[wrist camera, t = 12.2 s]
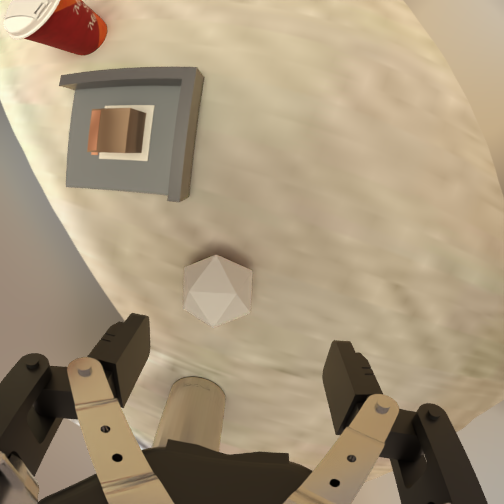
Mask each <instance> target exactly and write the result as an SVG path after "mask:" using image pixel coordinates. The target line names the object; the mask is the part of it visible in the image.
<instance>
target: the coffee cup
mask: <svg viewBox="0 0 504 504" xmlns="http://www.w3.org/2000/svg"><path fill="white" fill-rule="evenodd" d="M4 28H5V30H6V31H7V32H8V34H9V35H10V37H11V38H13V39H23V38H24V39H28V40H31V41H35V42H38V43H42V44H45V45H48V46H52V47H55V48H58V49H61V50H65V51H68V52H71V53H74V54H78V55H87V54H90V53H92V52H94V51H95V50H96V49H98V48H99V47H100V45H101V44H102V43H103V41H104V40H105V37H106V34H107V26H106V24H105V22H104V21H103V20H102V19H101V18H100V17H99V16H98V15H97V14H96V13H95V12H94V11H93V10H91V9H90V8H89V7H88V6H87V5H86V4H85V3H84V2H83V1H82V0H12V1H11V3H10V4H9V6H8V8H7V11H6V14H5V17H4Z"/></svg>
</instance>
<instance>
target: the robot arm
mask: <svg viewBox="0 0 504 504" xmlns="http://www.w3.org/2000/svg"><path fill="white" fill-rule="evenodd" d="M149 353H150V325H149V317H148V316H145V315H140V314H135V313H131V314H130V316H129V317H128V318H127V320H126V321H125V322H124V323H123V322H118V323H116V324H114V325H112V326H111V327H110V328H109V329H108V330H107V332H106V333H105V334H104V336H103V337H102V338H101V340H100V341H99V342H98V343H97V345H96V346H95V347H94V349H93V350H92V352H91V353H90V354H89V355H88V356H87V357H82V358H77V359H75V360H73V361H72V362H71V363H70V364H69V365H68V367H58V366H50V365H49V361H48V359H47V358H46V357H45V356H44V355H41V354H37V353H32V354H28V355H25V356H23V357H22V358H21V359H20V360H19V361H18V362H17V363H16V364H15V366H14V367H13V368H12V369H11V371H10V372H9V373H8V374H7V375H6V377H5V378H4V379H3V380H2V381H1V383H0V504H351V503H352V501H353V500H354V498H355V497H356V495H357V493H358V492H359V490H360V489H361V487H362V485H363V484H364V482H365V480H366V479H367V477H368V475H369V473H370V472H371V470H372V468H373V466H374V464H375V463H376V461H377V459H378V457H384V458H390V461H391V465H392V468H393V472H394V476H395V479H396V484H397V488H398V492H399V496H400V500H401V504H487V501H486V498H485V496H484V493H483V491H482V488H481V486H480V484H479V481H478V479H477V477H476V474H475V472H474V470H473V468H472V466H471V463H470V461H469V459H468V457H467V455H466V452H465V450H464V448H463V446H462V444H461V442H460V440H459V438H458V436H457V434H456V432H455V430H454V428H453V426H452V424H451V422H450V420H449V418H448V416H447V414H446V412H445V411H444V410H443V409H442V408H441V407H439V406H437V405H435V404H430V403H427V404H423V405H421V406H420V407H419V409H418V410H417V412H413V411H407V410H402V409H399V406H398V404H397V402H396V401H395V400H394V399H392V398H391V397H389V396H387V395H383V393H382V390H381V388H380V386H379V384H378V382H377V380H376V377H375V375H374V373H373V371H372V369H371V367H370V364H369V362H368V360H367V359H366V358H365V357H364V356H363V355H362V354H361V353H355V351H354V348H353V346H352V344H351V342H350V341H335V340H334V341H333V342H332V344H331V347H330V350H329V353H328V356H327V359H326V362H325V365H324V369H323V384H324V388H325V392H326V396H327V400H328V404H329V408H330V412H331V417H332V421H333V425H334V429H335V434H336V435H340V437H339V438H338V440H337V441H336V442H335V444H334V445H333V446H332V448H331V449H330V450H329V452H328V453H327V454H326V455H325V457H324V458H323V459H322V461H321V462H320V463H319V464H318V466H317V467H316V468H315V469H314V470H313V471H312V470H310V469H308V468H306V467H304V466H302V465H300V464H297V463H294V462H290V461H289V454H288V453H271V452H253V453H243V454H233V455H227V454H223V453H220V452H219V447H220V439H221V432H222V424H223V417H224V409H225V400H226V399H225V395H224V393H223V391H222V390H221V389H220V387H218V386H217V385H216V384H214V383H213V382H211V381H209V380H206V379H203V378H198V377H187V378H183V379H180V380H178V381H177V382H175V383H174V385H173V386H172V388H171V391H170V394H169V397H168V400H167V403H166V405H165V408H164V411H163V414H162V417H161V420H160V423H159V426H158V429H157V432H156V435H155V438H154V441H153V444H152V447H151V448H148V449H144V450H141V449H140V447H139V445H138V443H137V441H136V439H135V437H134V435H133V433H132V431H131V429H130V427H129V424H128V422H127V420H126V418H125V416H124V414H123V411H122V409H121V408H124V406H125V404H126V402H127V400H128V398H129V396H130V394H131V392H132V390H133V387H134V385H135V383H136V381H137V379H138V377H139V375H140V373H141V371H142V369H143V367H144V365H145V363H146V361H147V359H148V357H149ZM63 418H67V419H78V420H79V424H80V427H81V430H82V433H83V436H84V440H85V443H86V446H87V449H88V451H89V455H90V457H91V460H92V463H93V465H94V468H95V471H96V474H94V475H92V476H90V477H88V478H86V479H84V480H82V481H80V482H78V483H76V484H74V485H72V486H69V487H67V488H65V489H63V490H61V491H58V492H56V493H54V494H51V495H49V496H47V497H45V498H43V499H42V500H40V501H39V502H38V494H39V485H38V482H37V481H36V479H35V478H34V476H35V474H36V472H37V470H38V468H39V466H40V463H41V461H42V459H43V457H44V455H45V453H46V451H47V449H48V447H49V445H50V443H51V441H52V439H53V437H54V435H55V433H56V431H57V429H58V428H59V425H60V424H61V422H62V420H63ZM424 455H425V457H424ZM425 458H426V459H425ZM426 461H427V462H426Z"/></svg>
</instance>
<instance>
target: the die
mask: <svg viewBox="0 0 504 504" xmlns="http://www.w3.org/2000/svg"><path fill="white" fill-rule="evenodd" d="M252 275H253V270H250V269H248V268H246V267H244V266H241V265H239V264H237V263H234V262H232V261H230V260H228V259H225V258H223V257H221V256H218V255H214V256H211V257H208V258H206V259H203V260H201V261H198V262H196V263H193V264H191V265H188V266H186V267H184V286H183V309H184V310H185V311H187V312H188V313H190V314H191V315H193V316H195V317H196V318H198V319H199V320H201V321H203V322H204V323H206V324H207V325H209V326H211V327H212V328H214V327H217V326H220V325H222V324H225V323H227V322H230V321H232V320H235V319H237V318H240V317H243V316H245V315H248V314H250V313H251V297H252Z"/></svg>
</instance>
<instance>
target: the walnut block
mask: <svg viewBox="0 0 504 504" xmlns="http://www.w3.org/2000/svg"><path fill="white" fill-rule="evenodd" d="M145 119H146V113H144V112H141V111H138V110H135V109H132V108H103V109H92V112H91V120H90V128H89V137H88V147H87V152H107V153H142V144H143V135H144V127H145Z"/></svg>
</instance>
